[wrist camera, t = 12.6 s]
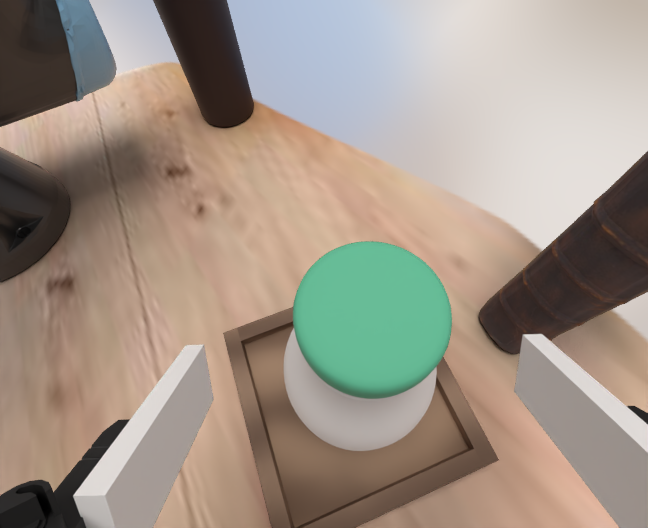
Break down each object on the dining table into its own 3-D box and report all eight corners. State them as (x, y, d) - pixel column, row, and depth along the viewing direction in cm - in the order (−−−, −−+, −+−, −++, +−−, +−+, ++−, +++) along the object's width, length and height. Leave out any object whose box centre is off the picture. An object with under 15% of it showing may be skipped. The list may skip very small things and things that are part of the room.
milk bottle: (376, 468, 25) (467, 540, 7) (285, 415, 27) (177, 367, 9) (414, 371, 28) (545, 251, 10) (330, 329, 30) (315, 166, 12)
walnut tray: (231, 340, 31) (223, 332, 29) (392, 279, 33) (395, 268, 31) (285, 551, 24) (280, 562, 22) (485, 458, 26) (498, 460, 24)
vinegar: (196, 104, 46) (104, -108, 28) (243, 87, 47) (183, -127, 29) (212, 135, 43) (122, -78, 25) (262, 116, 44) (209, -101, 26)
